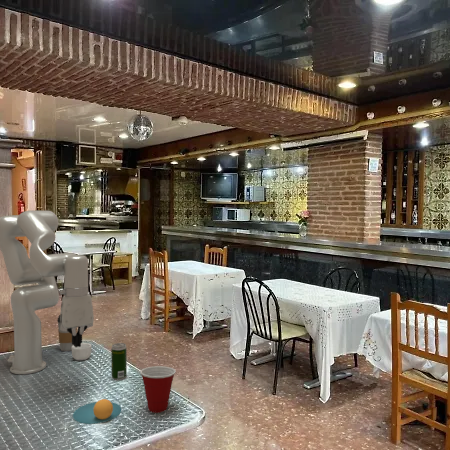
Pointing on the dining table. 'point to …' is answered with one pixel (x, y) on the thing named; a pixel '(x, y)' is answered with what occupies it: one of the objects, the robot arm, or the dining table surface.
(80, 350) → the teacup
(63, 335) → the coffee cup
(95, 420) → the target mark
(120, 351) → the green soda can
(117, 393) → the dining table surface
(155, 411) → the plastic cup
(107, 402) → the ball
